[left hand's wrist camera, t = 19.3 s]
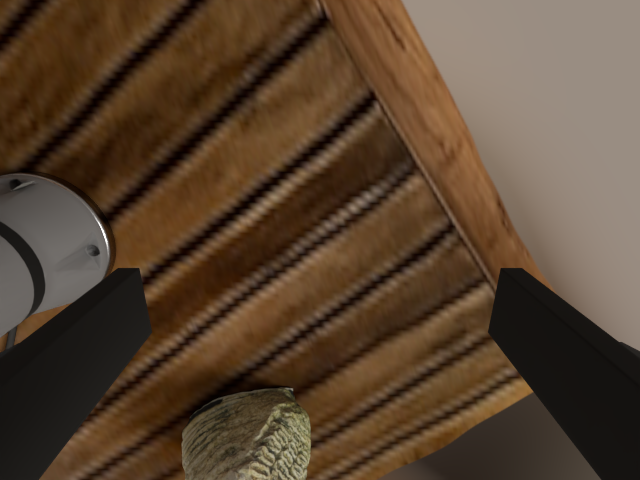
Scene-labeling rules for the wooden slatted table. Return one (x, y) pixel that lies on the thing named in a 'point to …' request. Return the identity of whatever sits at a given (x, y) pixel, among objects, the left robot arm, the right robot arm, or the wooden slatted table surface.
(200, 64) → the wooden slatted table surface
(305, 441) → the fossil
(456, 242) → the wooden slatted table surface
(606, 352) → the left robot arm
